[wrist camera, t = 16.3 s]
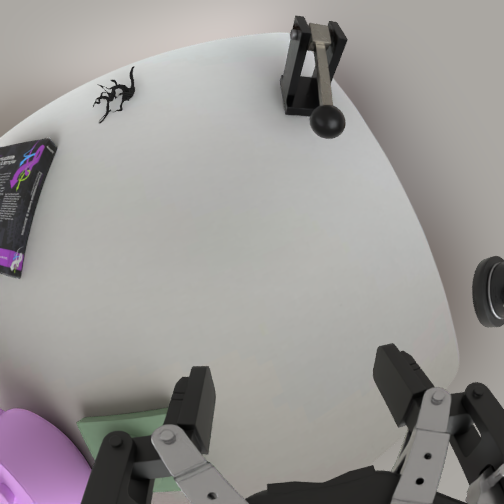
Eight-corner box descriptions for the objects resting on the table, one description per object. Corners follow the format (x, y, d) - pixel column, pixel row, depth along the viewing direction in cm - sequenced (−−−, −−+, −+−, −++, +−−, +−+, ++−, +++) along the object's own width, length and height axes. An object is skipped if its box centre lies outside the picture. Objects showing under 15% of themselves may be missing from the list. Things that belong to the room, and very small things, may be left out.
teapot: (146, 500, 20) (113, 566, 6) (87, 526, 16) (53, 568, 3) (18, 352, 23) (-57, 355, 10) (-15, 406, 19) (-69, 418, 6)
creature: (91, 131, 31) (133, 117, 30) (70, 111, 26) (113, 93, 25) (107, 94, 33) (148, 80, 32) (90, 74, 28) (132, 56, 27)
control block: (174, 406, 23) (164, 419, 20) (207, 477, 22) (204, 497, 18) (84, 417, 22) (67, 427, 18) (119, 483, 20) (107, 498, 16)
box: (22, 280, 25) (59, 147, 30) (6, 276, 22) (48, 135, 26) (-24, 264, 25) (8, 153, 29) (-38, 260, 21) (-2, 144, 25)
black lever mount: (325, 117, 32) (355, 46, 20) (281, 114, 32) (299, 36, 19) (316, 84, 34) (338, 18, 21) (276, 81, 33) (289, 10, 21)
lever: (338, 143, 26) (352, 135, 23) (306, 141, 26) (317, 132, 22) (326, 39, 24) (335, 24, 20) (297, 35, 24) (304, 18, 20)
